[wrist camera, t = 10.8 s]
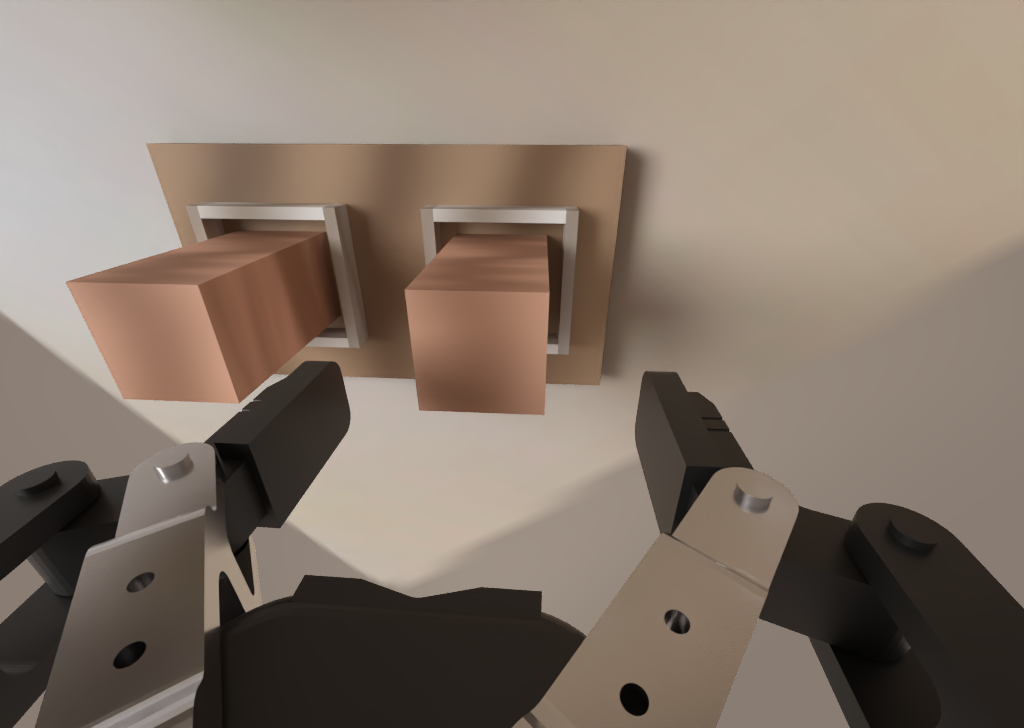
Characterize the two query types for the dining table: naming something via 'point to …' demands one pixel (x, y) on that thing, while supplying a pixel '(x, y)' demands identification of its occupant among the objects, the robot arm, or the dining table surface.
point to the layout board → (342, 258)
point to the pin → (482, 325)
